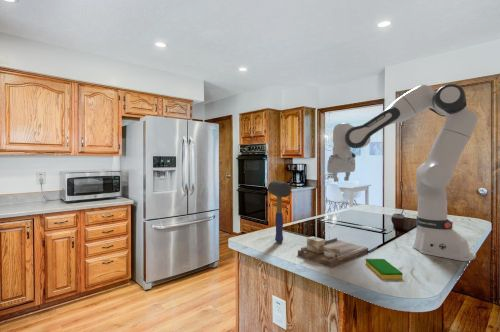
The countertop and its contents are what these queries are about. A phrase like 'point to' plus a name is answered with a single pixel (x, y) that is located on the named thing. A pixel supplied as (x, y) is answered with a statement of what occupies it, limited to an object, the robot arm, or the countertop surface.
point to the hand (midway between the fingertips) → (341, 181)
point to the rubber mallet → (279, 205)
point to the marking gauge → (320, 246)
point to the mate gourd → (398, 220)
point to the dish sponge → (384, 269)
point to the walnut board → (329, 259)
